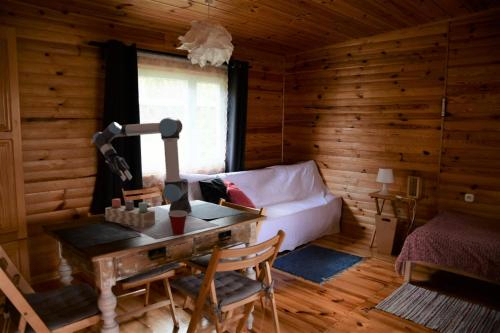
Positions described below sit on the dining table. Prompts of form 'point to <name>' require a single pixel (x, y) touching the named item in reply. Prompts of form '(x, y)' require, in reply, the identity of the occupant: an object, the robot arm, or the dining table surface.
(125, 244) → the dining table surface
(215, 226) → the dining table surface
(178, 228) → the plastic cup
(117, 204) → the red button
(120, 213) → the control box
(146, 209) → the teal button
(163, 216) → the dining table surface
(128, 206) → the grey button
